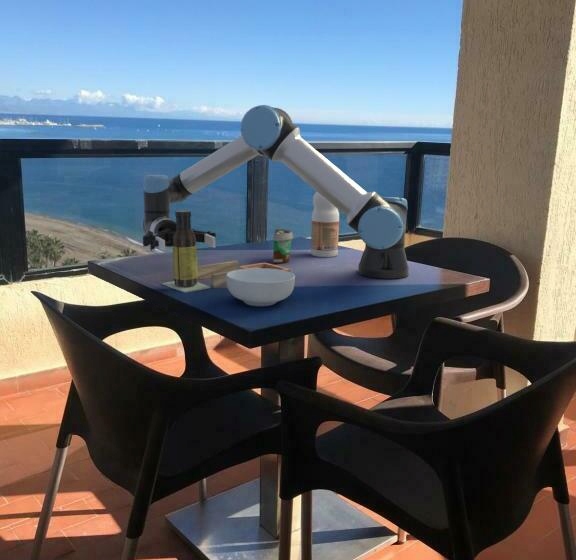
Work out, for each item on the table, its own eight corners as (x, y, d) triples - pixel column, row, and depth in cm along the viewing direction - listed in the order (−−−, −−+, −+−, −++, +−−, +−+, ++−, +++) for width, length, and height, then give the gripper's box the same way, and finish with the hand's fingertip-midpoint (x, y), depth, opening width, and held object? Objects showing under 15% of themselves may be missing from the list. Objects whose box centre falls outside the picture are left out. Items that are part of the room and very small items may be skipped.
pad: (210, 288, 159) (210, 286, 159) (184, 292, 154) (184, 291, 154) (187, 280, 167) (187, 278, 167) (162, 284, 162) (162, 283, 162)
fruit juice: (305, 255, 206) (308, 173, 200) (318, 251, 214) (321, 172, 208) (329, 258, 202) (333, 174, 195) (342, 254, 209) (346, 173, 203)
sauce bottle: (202, 283, 162) (201, 210, 157) (188, 288, 156) (187, 212, 152) (182, 281, 165) (181, 208, 160) (168, 285, 159) (166, 211, 154)
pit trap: (290, 274, 178) (290, 269, 177) (264, 278, 171) (264, 273, 171) (264, 267, 186) (264, 262, 186) (239, 271, 180) (239, 266, 179)
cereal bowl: (308, 304, 147) (309, 276, 145) (255, 316, 136) (255, 285, 134) (264, 290, 159) (265, 264, 157) (212, 300, 148) (212, 272, 147)
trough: (260, 279, 170) (260, 267, 169) (214, 287, 160) (214, 275, 159) (235, 272, 179) (235, 260, 178) (189, 279, 168) (189, 267, 167)
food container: (292, 265, 189) (293, 234, 187) (273, 265, 189) (273, 234, 187) (292, 258, 201) (293, 228, 199) (274, 257, 201) (275, 228, 199)
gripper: (207, 242, 180) (234, 255, 162) (123, 247, 169) (141, 261, 150) (207, 217, 178) (234, 227, 160) (122, 220, 167) (140, 232, 149)
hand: (189, 244), depth 155 cm, fingers open, 13 cm apart
